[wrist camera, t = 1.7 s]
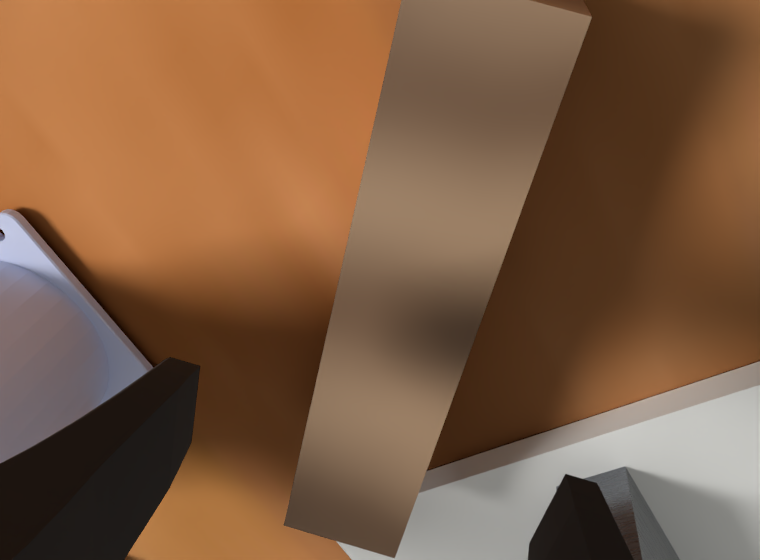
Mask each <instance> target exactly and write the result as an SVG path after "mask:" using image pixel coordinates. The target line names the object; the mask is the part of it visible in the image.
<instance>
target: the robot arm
mask: <svg viewBox="0 0 760 560" xmlns="http://www.w3.org/2000/svg"><path fill="white" fill-rule="evenodd" d="M0 229H1V230H3V232H4V234H5V235H3V234H2V233H0V560H124V559H125V557H126V556H127V554H128V553H129V551H130V549H131V548H132V546H133V545H134V543H135V542H136V540H137V539H138V537H139V535H140V534H141V532H142V531H143V529H144V528H145V526H146V525H147V523H148V521H149V520H150V518H151V517H152V515H153V513H154V512H155V510H156V509H157V507H158V506H159V504H160V502H161V501H162V499H163V498H164V496H165V494H166V493H167V491H168V489H169V488H170V486H171V484H172V482H173V480H174V478H175V476H176V474H177V472H178V469H179V467H180V465H181V463H182V461H183V459H184V457H185V455H186V453H187V450H188V448H189V446H190V444H191V441H192V433H193V424H194V415H195V406H196V398H197V389H198V380H199V371H200V366H198V365H195V364H192V363H188V362H185V361H181V360H178V359H175V358H171V357H169V358H167V359H165V360H163V361H162V362H161V363H159V364H158V365H156V366H155V367H154V368H153V367H152V365H151V364H150V363H149V362H148V361H147V360H146V358H145V357H144V356H143V355H142V354H141V353H140V351H139V350H138V349H137V348H136V347H135V346H134V344H133V343H132V342H131V341H130V340H129V339H128V337H127V336H126V335H125V334H124V333H123V332H122V331H121V329H120V328H119V327H118V326H117V325H116V324H115V322H114V321H113V320H112V319H111V318H110V317H109V315H108V314H107V313H106V312H105V311H104V310H103V308H102V307H101V306H100V305H99V304H98V303H97V301H96V300H95V299H94V298H93V297H92V296H91V294H90V293H89V292H88V291H87V290H86V289H85V288H84V286H83V285H82V284H81V283H80V282H79V281H78V279H77V278H76V277H75V276H74V275H73V274H72V272H71V271H70V270H69V269H68V268H67V267H66V265H65V264H64V263H63V262H62V261H61V260H60V258H59V257H58V256H57V255H56V254H55V253H54V251H53V250H52V249H51V248H50V247H49V246H48V245H47V243H46V242H45V241H44V240H43V239H42V238H41V236H40V235H39V234H38V233H37V232H36V231H35V229H34V228H33V227H32V226H31V225H30V224H29V222H28V221H27V220H26V219H25V218H24V217H23V216H22V215H21V214H20V213H19V212H17V211H15V210H11V209H6V210H3V211H2V212H0ZM528 560H634V558H633V556H632V554H631V552H630V550H629V548H628V546H627V544H626V542H625V540H624V538H623V536H622V534H621V532H620V529H619V527H618V525H617V523H616V521H615V519H614V517H613V515H612V513H611V511H610V508H609V506H608V504H607V502H606V500H605V498H604V496H603V494H602V492H601V490H600V488H599V486H598V484H597V483H595V482H592V481H588V480H585V479H582V478H578V477H575V476H571V475H568V474H565V476H564V478H563V479H562V481H561V483H560V485H559V487H558V489H557V491H556V493H555V495H554V497H553V499H552V500H551V502H550V504H549V506H548V508H547V510H546V512H545V514H544V516H543V518H542V520H541V522H540V523H539V525H538V527H537V529H536V531H535V533H534V535H533V537H532V539H531V541H530V543H529V551H528Z"/></svg>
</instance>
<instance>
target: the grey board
mask: <svg viewBox="0 0 760 560" xmlns="http://www.w3.org/2000/svg"><path fill="white" fill-rule="evenodd" d="M624 466H625V467H626V468H627V470H628V472H629V473H630V475H631V477H632V479H633V480H634V482H635V484H636V485H637V487H638V489H639V491H640V492H641V494H642V496H643V497H644V499H645V501H646V502H647V504H648V506H649V508H650V509H651V511H652V513H653V514H654V516H655V518H656V520H657V521H658V523H659V525H660V526H661V528H662V530H663V531H664V533H665V535H666V537H667V538H668V540H669V542H670V543H671V545H672V547H673V549H674V550H675V552H676V554H677V555H678V557H679V559H680V560H760V361H759V362H756V363H753V364H750V365H747V366H744V367H741V368H738V369H735V370H732V371H729V372H726V373H723V374H719V375H716V376H713V377H710V378H707V379H704V380H701V381H698V382H695V383H692V384H689V385H686V386H683V387H680V388H677V389H674V390H671V391H668V392H665V393H662V394H659V395H656V396H653V397H650V398H647V399H644V400H641V401H638V402H635V403H632V404H629V405H626V406H623V407H619V408H616V409H613V410H610V411H607V412H604V413H601V414H598V415H595V416H592V417H589V418H586V419H583V420H580V421H577V422H574V423H571V424H568V425H565V426H562V427H559V428H556V429H553V430H550V431H547V432H544V433H541V434H538V435H535V436H532V437H529V438H526V439H522V440H519V441H516V442H513V443H510V444H507V445H504V446H501V447H498V448H495V449H492V450H489V451H486V452H483V453H480V454H477V455H474V456H471V457H468V458H465V459H462V460H459V461H456V462H453V463H450V464H447V465H444V466H441V467H438V468H435V469H432V470H429V471H426V474H425V477H424V479H423V482H422V485H421V488H420V490H419V493H418V496H417V499H416V501H415V504H414V507H413V510H412V512H411V515H410V518H409V521H408V523H407V526H406V529H405V532H404V534H403V537H402V540H401V542H400V545H399V548H398V551H397V553H396V556H395V558H392V557H388V556H385V555H382V554H378V553H375V552H372V551H368V550H365V549H361V548H358V547H355V546H351V545H348V544H345V543H341V542H338V541H337V543H338V544H339V545H340V546H341V547H342V548H343V550H344V551H345V552H346V553H347V554H348V556H349V557H350V558H351V559H352V560H528V551H529V543H530V541H531V539H532V537H533V535H534V533H535V531H536V529H537V527H538V525H539V523H540V522H541V520H542V518H543V516H544V514H545V512H546V510H547V508H548V506H549V504H550V502H551V500H552V499H553V497H554V495H555V493H556V487H557V486H559V485H560V483H561V481H562V479H563V478H564V476H565V474H568V475H571V476H575V477H578V478H582V479H584V478H587V477H591V476H594V475H597V474H601V473H604V472H607V471H611V470H614V469H618V468H621V467H624Z"/></svg>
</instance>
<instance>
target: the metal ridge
mask: <svg viewBox="0 0 760 560" xmlns="http://www.w3.org/2000/svg"><path fill="white" fill-rule="evenodd" d="M584 479H585V480H588V481H592V482H595V483H597V484H598V486H599V488H600V490H601V492H602V494H603V496H604V498H605V500H606V502H607V504H608V506H609V508H610V511H611V513H612V515H613V517H614V519H615V521H616V523H617V525H618V527H619V529H620V532H621V534H622V536H623V538H624V540H625V542H626V544H627V546H628V548H629V550H630V552H631V554H632V556H633V558H634V560H680V559H679V557H678V555H677V554H676V552H675V550H674V549H673V547H672V545H671V543H670V542H669V540H668V538H667V537H666V535H665V533H664V531H663V530H662V528H661V526H660V525H659V523H658V521H657V520H656V518H655V516H654V514H653V513H652V511H651V509H650V508H649V506H648V504H647V502H646V501H645V499H644V497H643V496H642V494H641V492H640V491H639V489H638V487H637V485H636V484H635V482H634V480H633V479H632V477H631V475H630V473H629V472H628V470H627V468H626V467H625V466H624V467H621V468H618V469H614V470H611V471H607V472H604V473H601V474H597V475H594V476H591V477H587V478H584ZM558 487H559V486H557V487H556V491H557V489H558Z"/></svg>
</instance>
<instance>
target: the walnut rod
mask: <svg viewBox="0 0 760 560" xmlns="http://www.w3.org/2000/svg"><path fill="white" fill-rule="evenodd" d="M591 18H592V16H591V14H590V12H589V10H588V8H587V6H586V4H585V3H584V1H583V0H402V1H401V5H400V10H399V14H398V19H397V23H396V28H395V32H394V37H393V41H392V45H391V50H390V54H389V59H388V63H387V68H386V72H385V77H384V81H383V86H382V90H381V94H380V99H379V103H378V108H377V112H376V117H375V121H374V126H373V130H372V135H371V139H370V144H369V148H368V152H367V157H366V161H365V166H364V170H363V175H362V179H361V184H360V188H359V193H358V197H357V202H356V206H355V210H354V215H353V219H352V224H351V228H350V233H349V237H348V242H347V246H346V251H345V255H344V259H343V264H342V268H341V273H340V277H339V282H338V286H337V291H336V295H335V300H334V304H333V309H332V313H331V317H330V322H329V326H328V331H327V335H326V340H325V344H324V349H323V353H322V358H321V362H320V366H319V371H318V375H317V380H316V384H315V389H314V393H313V398H312V402H311V407H310V411H309V416H308V420H307V424H306V429H305V433H304V438H303V442H302V447H301V451H300V456H299V460H298V465H297V469H296V473H295V478H294V482H293V487H292V491H291V496H290V500H289V505H288V509H287V514H286V518H285V523H284V526H288V527H291V528H294V529H298V530H301V531H304V532H308V533H311V534H314V535H318V536H321V537H324V538H328V539H331V540H335V541H338V542H341V543H345V544H348V545H351V546H355V547H358V548H361V549H365V550H368V551H372V552H375V553H378V554H382V555H385V556H388V557H392V558H395V556H396V553H397V551H398V548H399V545H400V542H401V540H402V537H403V534H404V532H405V529H406V526H407V523H408V521H409V518H410V515H411V512H412V510H413V507H414V504H415V501H416V499H417V496H418V493H419V490H420V488H421V485H422V482H423V479H424V477H425V474H426V471H427V468H428V466H429V463H430V460H431V457H432V455H433V452H434V449H435V446H436V444H437V441H438V438H439V435H440V433H441V430H442V427H443V425H444V422H445V419H446V416H447V414H448V411H449V408H450V405H451V403H452V400H453V397H454V394H455V392H456V389H457V386H458V383H459V381H460V378H461V375H462V372H463V370H464V367H465V364H466V361H467V359H468V356H469V353H470V350H471V348H472V345H473V342H474V339H475V337H476V334H477V331H478V328H479V326H480V323H481V320H482V317H483V315H484V312H485V309H486V307H487V304H488V301H489V298H490V296H491V293H492V290H493V287H494V285H495V282H496V279H497V276H498V274H499V271H500V268H501V265H502V263H503V260H504V257H505V254H506V252H507V249H508V246H509V243H510V241H511V238H512V235H513V232H514V230H515V227H516V224H517V221H518V219H519V216H520V213H521V210H522V208H523V205H524V202H525V199H526V197H527V194H528V191H529V189H530V186H531V183H532V180H533V178H534V175H535V172H536V169H537V167H538V164H539V161H540V158H541V156H542V153H543V150H544V147H545V145H546V142H547V139H548V136H549V134H550V131H551V128H552V125H553V123H554V120H555V117H556V114H557V112H558V109H559V106H560V103H561V101H562V98H563V95H564V92H565V90H566V87H567V84H568V82H569V79H570V76H571V73H572V71H573V68H574V65H575V62H576V60H577V57H578V54H579V51H580V49H581V46H582V43H583V40H584V38H585V35H586V32H587V29H588V27H589V24H590V21H591Z"/></svg>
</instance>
